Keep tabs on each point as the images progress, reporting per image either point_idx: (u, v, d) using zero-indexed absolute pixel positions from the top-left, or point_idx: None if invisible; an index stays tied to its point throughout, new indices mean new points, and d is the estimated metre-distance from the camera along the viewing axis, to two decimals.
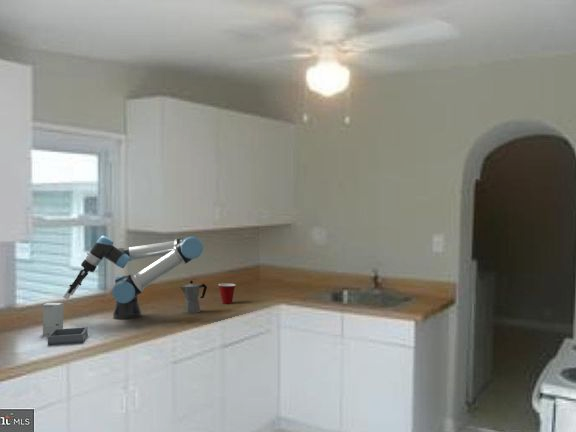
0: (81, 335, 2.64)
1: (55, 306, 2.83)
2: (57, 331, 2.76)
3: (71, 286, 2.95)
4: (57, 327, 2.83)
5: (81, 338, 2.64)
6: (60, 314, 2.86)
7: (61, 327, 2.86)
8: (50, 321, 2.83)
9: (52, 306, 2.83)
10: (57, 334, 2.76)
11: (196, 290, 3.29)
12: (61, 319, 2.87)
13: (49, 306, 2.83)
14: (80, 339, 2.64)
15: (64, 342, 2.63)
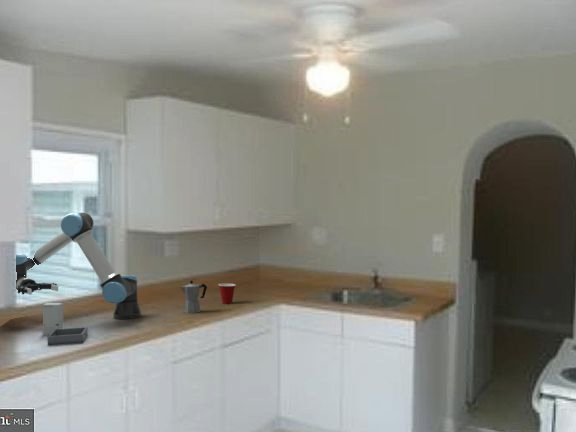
0: (81, 335, 2.64)
1: (55, 306, 2.83)
2: (57, 331, 2.76)
3: (18, 292, 2.90)
4: (57, 327, 2.83)
5: (81, 338, 2.64)
6: (60, 314, 2.86)
7: (61, 327, 2.86)
8: (50, 321, 2.83)
9: (52, 306, 2.83)
10: (57, 334, 2.76)
11: (196, 290, 3.29)
12: (61, 319, 2.87)
13: (49, 306, 2.83)
14: (80, 339, 2.64)
15: (64, 342, 2.63)
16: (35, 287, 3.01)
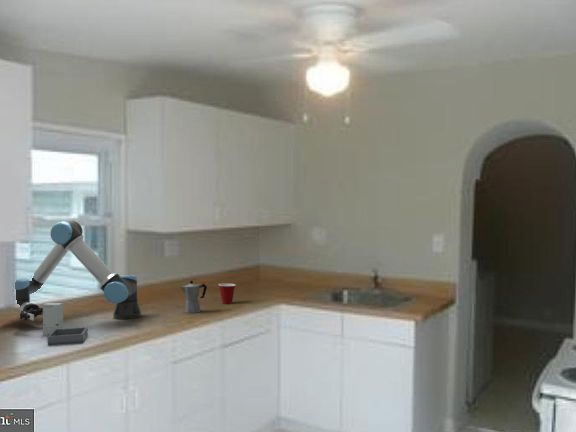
0: (81, 335, 2.64)
1: (55, 306, 2.83)
2: (57, 331, 2.76)
3: (21, 318, 2.87)
4: (57, 327, 2.83)
5: (81, 338, 2.64)
6: (60, 314, 2.86)
7: (61, 327, 2.86)
8: (50, 321, 2.83)
9: (52, 306, 2.83)
10: (57, 334, 2.76)
11: (196, 290, 3.29)
12: (61, 319, 2.87)
13: (49, 306, 2.83)
14: (80, 339, 2.64)
15: (64, 342, 2.63)
16: (38, 312, 2.98)
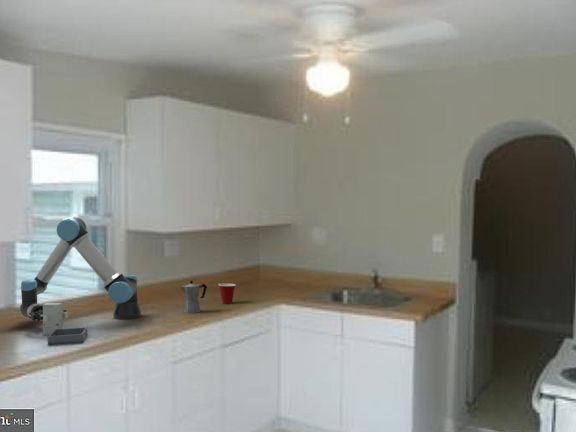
0: (81, 335, 2.64)
1: (55, 306, 2.83)
2: (57, 331, 2.76)
3: (34, 319, 2.82)
4: (57, 327, 2.83)
5: (81, 338, 2.64)
6: (60, 314, 2.85)
7: (61, 327, 2.86)
8: (50, 321, 2.83)
9: (52, 306, 2.83)
10: (57, 334, 2.76)
11: (196, 290, 3.29)
12: (61, 319, 2.87)
13: (49, 306, 2.83)
14: (80, 339, 2.64)
15: (64, 342, 2.63)
16: None
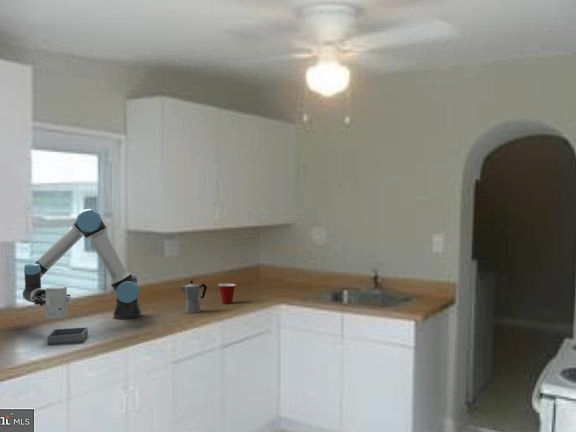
0: (81, 335, 2.64)
1: (58, 290, 2.73)
2: (57, 331, 2.76)
3: (36, 303, 2.73)
4: (60, 311, 2.73)
5: (81, 338, 2.64)
6: (64, 299, 2.76)
7: (64, 312, 2.77)
8: (53, 305, 2.73)
9: (55, 290, 2.73)
10: (57, 334, 2.76)
11: (196, 290, 3.29)
12: (65, 303, 2.77)
13: (52, 290, 2.73)
14: (80, 339, 2.64)
15: (64, 342, 2.63)
16: None
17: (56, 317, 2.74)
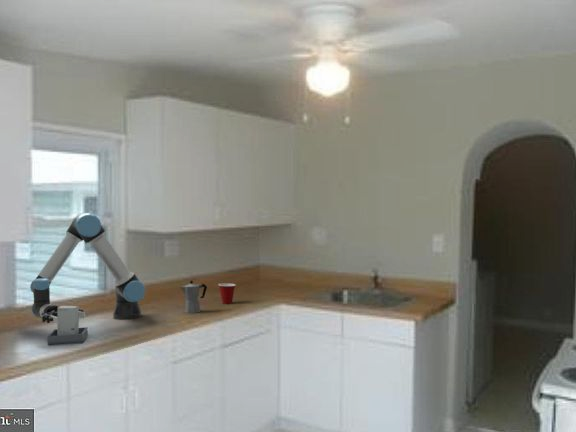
0: (81, 335, 2.64)
1: (70, 309, 2.67)
2: None
3: (43, 320, 2.66)
4: (72, 331, 2.67)
5: (81, 338, 2.64)
6: (76, 318, 2.70)
7: (76, 331, 2.71)
8: (65, 325, 2.68)
9: (67, 309, 2.67)
10: None
11: (196, 290, 3.29)
12: (77, 323, 2.71)
13: (64, 309, 2.67)
14: (80, 339, 2.64)
15: (64, 342, 2.63)
16: None
17: None
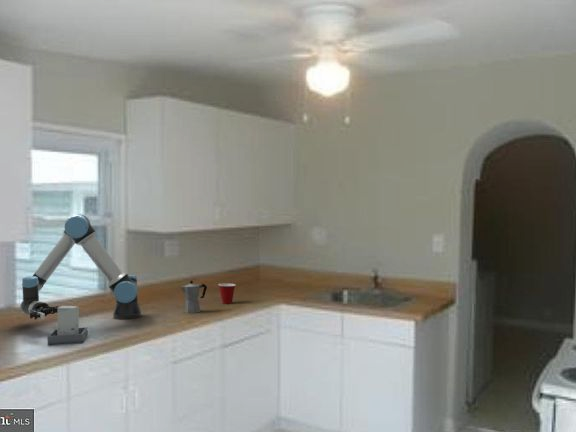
0: (81, 335, 2.64)
1: (70, 309, 2.67)
2: None
3: (31, 317, 2.75)
4: (72, 331, 2.67)
5: (81, 338, 2.64)
6: (76, 318, 2.70)
7: (76, 331, 2.71)
8: (65, 325, 2.68)
9: (67, 309, 2.67)
10: None
11: (196, 290, 3.29)
12: (77, 323, 2.71)
13: (64, 309, 2.67)
14: (80, 339, 2.64)
15: (64, 342, 2.63)
16: (48, 311, 2.86)
17: None
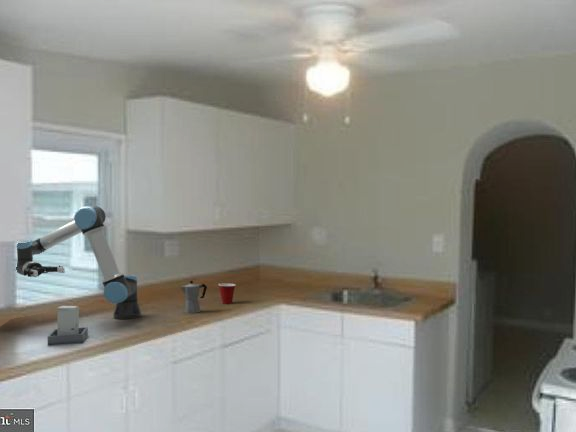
0: (81, 335, 2.64)
1: (70, 309, 2.67)
2: None
3: (24, 274, 2.87)
4: (72, 331, 2.67)
5: (81, 338, 2.64)
6: (76, 318, 2.70)
7: (76, 331, 2.71)
8: (65, 325, 2.68)
9: (67, 309, 2.67)
10: None
11: (196, 290, 3.29)
12: (77, 323, 2.71)
13: (64, 309, 2.67)
14: (80, 339, 2.64)
15: (64, 342, 2.63)
16: (41, 270, 2.98)
17: None
